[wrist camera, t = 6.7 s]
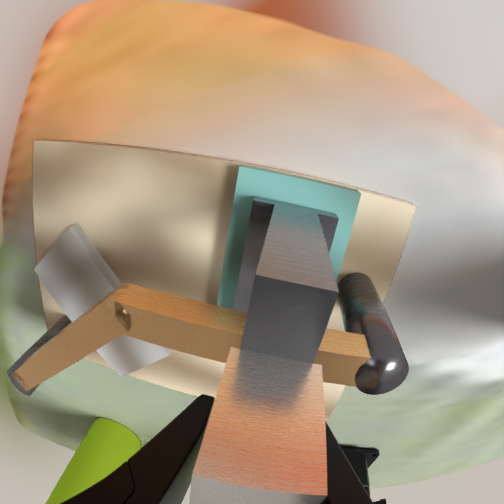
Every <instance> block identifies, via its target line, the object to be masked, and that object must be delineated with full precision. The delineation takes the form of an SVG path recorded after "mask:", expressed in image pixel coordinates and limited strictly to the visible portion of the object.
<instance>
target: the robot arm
mask: <svg viewBox="0 0 504 504" xmlns="http://www.w3.org/2000/svg"><path fill="white" fill-rule="evenodd" d="M214 401H215V398H214V397H213V396H209V395H205V394H201V395H200V396H199V397H198V398H196V399H195V400H194V401H193V402H192V403H191V404H190V405H189V406H188V407H187V408H186V409H185V410H184V411H182V412H181V413H180V414H179V415H178V416H177V417H176V418H175V419H174V420H173V421H171V422H170V423H169V424H168V425H167V426H166V427H165V428H164V429H163V430H161V431H160V432H159V433H158V434H157V435H156V436H155V437H154V438H152V439H151V440H150V441H149V442H148V443H147V444H145V445H144V446H143V447H142V448H141V449H140V450H139V451H137V452H136V453H135V454H134V455H133V456H131V457H130V458H129V459H128V462H127V461H125V462H124V463H123V464H122V465H121V466H119V467H118V468H117V469H116V470H114V471H113V472H112V473H110V474H109V475H108V476H106V477H105V478H104V479H102V480H100V481H99V482H97V483H96V484H94V485H93V486H91V487H89V488H87V489H86V490H84V491H82V492H80V493H79V494H77V495H75V496H73V497H71V498H69V499H68V500H66V501H64V502H62V503H60V504H181V503H182V501H183V499H184V496H185V494H186V492H187V489H188V487H189V485H190V483H191V481H192V473H193V470H194V467H195V463H196V460H197V457H198V454H199V450H200V447H201V444H202V441H203V437H204V434H205V431H206V428H207V424H208V421H209V418H210V414H211V411H212V408H213V405H214ZM325 426H326V451H327V496H326V497H325V499H324V500H323V501H322V502H321V503H320V504H386V499H381V500H380V501H376V502H372V500H371V499H370V491H369V477H368V467H369V466H370V465H371V464H372V463H373V462H374V461H375V459H376V458H377V457H378V456H379V450H377V449H355V448H341V447H340V445H339V444H338V442H337V440H336V438H335V437H334V435H333V433H332V432H331V430H330V428H329V426H328V425H327V423H326V421H325Z"/></svg>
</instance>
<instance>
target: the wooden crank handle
mask: <svg viewBox="0 0 504 504" xmlns="http://www.w3.org/2000/svg"><path fill="white" fill-rule="evenodd" d="M337 287H338V291H339V293H338V296H337V297H338V302H339V306H340V311H341V315H342V320H343V325H344V329H345V332H344V331H338V330H333V329H327V328H326V330H325V333H324V336H323V339H322V341H321V344H320V347H319V349H318V352H317V354H316V357H315V360H314V362H313V363H314V364H320V365H322V374H323V382H326V383H333V384H340V385H348V386H356V387H357V388H358V389H359V390H360V391H362V392H363V393H366V394H371V395H377V394H383V393H386V392H389V391H391V390H393V389H395V388H396V387H398V386H399V385H400V384H401V383H402V382H403V381H404V380H405V378H406V376H407V374H408V370H409V367H408V363H407V360H406V358H405V355H404V353H403V350H402V348H401V345H400V343H399V341H398V338H397V336H396V333H395V331H394V329H393V326H392V324H391V322H390V319H389V317H388V315H387V313H386V310H385V308H384V306H383V304H382V301H381V299H380V297H379V295H378V293H377V290H376V288H375V286H374V284H373V282H372V280H371V279H370V277H369V276H367V275H366V274H364V273H359V272H355V273H350V274H348V275H346V276H345V277H343V278H342V279H341V280H340V282H339V283H338V286H337ZM247 314H248V312H244V311H239V310H235V309H231V308H226V307H222V306H218V305H213V304H209V303H205V302H201V301H197V300H193V299H189V298H185V297H181V296H177V295H173V294H169V293H165V292H161V291H158V290H154V289H150V288H146V287H143V286H139V285H135V284H132V283H123V284H121V285H120V286H118V287H117V288H116V289H114V290H113V291H112V292H110V293H109V294H108V295H106V296H105V297H104V298H103V299H101V300H100V301H99V302H97V303H96V304H95V305H93V306H92V307H91V308H90V309H88V310H87V311H86V312H84V313H83V314H82V315H81V316H79V317H78V318H77V319H75V320H74V321H73V322H72V321H71V320H70V319H69V318H68V316H67V315H65V316H63V317H62V318H61V319H60V320H59V321H58V322H57V323H55V324H54V325H53V326H52V327H51V328H50V329H49V330H48V331H47V332H46V333H45V334H44V335H43V336H42V337H41V338H40V339H39V340H38V341H37V342H36V343H35V344H34V345H32V346H31V347H30V348H29V349H28V350H27V351H26V352H25V353H24V354H23V355H22V356H21V357H20V358H19V359H18V360H17V361H16V362H15V363H14V364H13V365H12V367H11V368H10V369H9V370H8V371H7V373H8V376H9V378H10V380H11V382H12V383H13V384H14V386H15V387H16V388H17V389H18V390H19V391H21V392H22V393H23V394H25V395H28V396H30V395H31V394H32V393H33V392H34V390H35V389H36V388H37V387H38V386H39V384H40V383H42V382H43V381H45V380H47V379H48V378H50V377H52V376H53V375H55V374H57V373H59V372H60V371H62V370H64V369H65V368H67V367H69V366H70V365H72V364H74V363H75V362H77V361H79V360H80V359H82V358H84V357H86V356H87V355H89V354H91V353H92V352H94V351H96V350H97V349H99V348H101V347H102V346H104V345H106V344H107V343H109V342H111V341H112V340H114V339H116V338H117V337H119V336H121V335H123V334H124V335H127V336H130V337H133V338H136V339H139V340H142V341H146V342H149V343H152V344H156V345H159V346H162V347H166V348H169V349H173V350H176V351H180V352H183V353H187V354H191V355H195V356H198V357H202V358H206V359H210V360H214V361H218V362H222V363H226V362H227V358H228V355H229V352H230V348H231V347H234V348H238V349H240V347H241V342H242V338H243V333H244V328H245V323H246V318H247Z"/></svg>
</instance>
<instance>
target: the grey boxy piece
mask: <svg viewBox="0 0 504 504" xmlns="http://www.w3.org/2000/svg"><path fill="white" fill-rule="evenodd" d="M338 220H339V218H338V216H337V214H336V213H332V212H328V211H323V210H319V209H315V208H310V207H306V206H301V205H297V204H292V203H288V202H283V201H278V200H273V199H269V198H264V197H259V196H255V198H254V199H253V203H252V208H251V214H250V219H249V225H248V230H247V235H246V241H245V246H244V252H243V257H242V263H241V269H240V274H239V280H238V285H237V291H236V296H235V302H234V308H233V309H235V310H239V311H244V312H248V314H247V318H246V323H245V328H244V333H243V338H242V342H241V347H240V349H238V348H234V347H231V348H230V352H229V355H228V358H227V362H226V365H225V368H224V372H223V375H222V378H221V382H220V385H219V388H218V391H217V395H216V398H215V401H214V405H213V408H212V411H211V414H210V418H209V421H208V424H207V428H206V431H205V434H204V437H203V441H202V444H201V447H200V450H199V454H198V457H197V460H196V463H195V467H194V470H193V473H192V481H191V493H190V504H320V503H321V502H322V501H323V500H324V499H325V497H326V496H327V451H326V426H325V406H324V389H323V374H322V365H320V364H314V363H313V362H314V360H315V357H316V354H317V352H318V349H319V347H320V344H321V341H322V339H323V336H324V333H325V330H326V328H327V325H328V322H329V319H330V316H331V314H332V311H333V308H334V305H335V302H336V299H337V296H338V293H339V291H338V287H337V283H336V279H335V275H334V271H333V267H332V263H331V260H330V256H329V253H330V249H331V246H332V242H333V239H334V235H335V231H336V227H337V224H338Z"/></svg>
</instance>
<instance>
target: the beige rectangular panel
mask: <svg viewBox="0 0 504 504" xmlns="http://www.w3.org/2000/svg"><path fill="white" fill-rule="evenodd" d="M255 196H259V197H264V198H269V199H273V200H278V201H283V202H288V203H292V204H297V205H301V206H306V207H310V208H315V209H319V210H323V211H328V212H332V213H336V214H337V216H338V218H339V220H338V224H337V227H336V231H335V235H334V239H333V242H332V246H331V249H330V253H329V256H330V260H331V263H332V267H333V271H334V275H335V279H336V283H337V286H338V283H339V282H340V280H341V279H342V278H343V277H345V276H346V275H348V274H350V273H355V272H359V273H364V274H366V275H367V276H369V277H370V279H371V280H372V282H373V284H374V286H375V288H376V290H377V293H378V295H379V297H380V299H381V301H382V304H383V303H384V300H385V298H386V295H387V293H388V290H389V287H390V285H391V282H392V279H393V277H394V274H395V271H396V268H397V266H398V263H399V260H400V257H401V254H402V251H403V248H404V245H405V242H406V239H407V236H408V233H409V230H410V227H411V223H412V220H413V217H414V213H415V210H416V206H415V205H413V204H412V203H410V202H407V201H403V200H400V199H397V198H393V197H390V196H386V195H383V194H379V193H375V192H372V191H368V190H364V189H360V188H357V187H353V186H349V185H345V184H341V183H337V182H333V181H329V180H324V179H320V178H316V177H311V176H307V175H303V174H298V173H293V172H289V171H284V170H279V169H274V168H270V167H264V166H259V165H254V164H249V163H243V162H238V161H232V160H227V159H221V158H215V157H209V156H202V155H196V154H189V153H182V152H175V151H168V150H160V149H152V148H144V147H135V146H126V145H116V144H105V143H94V142H81V141H65V140H46V139H42V140H35V141H34V150H33V222H34V237H35V249H36V259H37V266H36V267H35V269H34V271H35V273H36V274H37V276H38V277H39V283H40V290H41V296H42V302H43V308H44V313H45V318H46V323H47V328H48V330H49V329H50V328H51V327H52V326H53V325H54V324H55V323H57V322H58V321H59V320H60V319H61V318H62V317H63V316H65V315H67V316H68V318H69V319H70V320H71V321H72V322H73V321H74V320H75V319H77V318H78V317H79V316H81V315H82V314H83V313H84V312H86V311H87V310H88V309H90V308H91V307H92V306H93V305H95V304H96V303H97V302H99V301H100V300H101V299H103V298H104V297H105V296H106V295H108V294H109V293H110V292H112V291H113V290H114V289H116V288H117V287H118V286H120V285H121V284H123V283H132V284H135V285H139V286H143V287H146V288H150V289H154V290H158V291H161V292H165V293H169V294H173V295H177V296H181V297H185V298H189V299H193V300H197V301H201V302H205V303H209V304H213V305H218V306H222V307H226V308H231V309H233V308H234V302H235V296H236V291H237V285H238V280H239V274H240V269H241V263H242V257H243V252H244V246H245V241H246V235H247V230H248V225H249V219H250V214H251V208H252V203H253V199H254V198H255ZM327 329H333V330H338V331H344V332H345V329H344V325H343V320H342V315H341V311H340V306H339V302H338V297H337V299H336V302H335V305H334V308H333V311H332V314H331V316H330V319H329V322H328V325H327ZM84 358H85V359H88V360H90V361H93V362H95V363H98V364H100V365H103V366H106V367H108V368H111V369H113V370H114V371H115V372H116V373H117V374H118V375H119V376H120V377H123V376H126V375H130V376H133V377H136V378H139V379H142V380H145V381H148V382H151V383H154V384H157V385H161V386H164V387H167V388H170V389H174V390H177V391H181V392H184V393H188V394H191V395H195V396H200V395H201V394H205V395H209V396H213V397H214V398H216V395H217V391H218V388H219V385H220V382H221V378H222V375H223V372H224V368H225V365H226V363H222V362H218V361H214V360H210V359H206V358H202V357H198V356H195V355H191V354H187V353H183V352H180V351H176V350H173V349H169V348H166V347H162V346H159V345H156V344H152V343H149V342H146V341H142V340H139V339H136V338H133V337H130V336H127V335H124V334H123V335H121V336H119V337H117V338H116V339H114V340H112V341H111V342H109V343H107V344H106V345H104V346H102V347H101V348H99V349H97V350H96V351H94V352H92V353H91V354H89V355H87V356H86V357H84ZM345 386H346V385H340V384H333V383H326V382H323V389H324V406H325V421H327V420H328V418H329V416H330V415H331V413H332V411H333V409H334V407H335V405H336V404H337V402H338V400H339V398H340V396H341V394H342V392H343V390H344V388H345Z"/></svg>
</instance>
